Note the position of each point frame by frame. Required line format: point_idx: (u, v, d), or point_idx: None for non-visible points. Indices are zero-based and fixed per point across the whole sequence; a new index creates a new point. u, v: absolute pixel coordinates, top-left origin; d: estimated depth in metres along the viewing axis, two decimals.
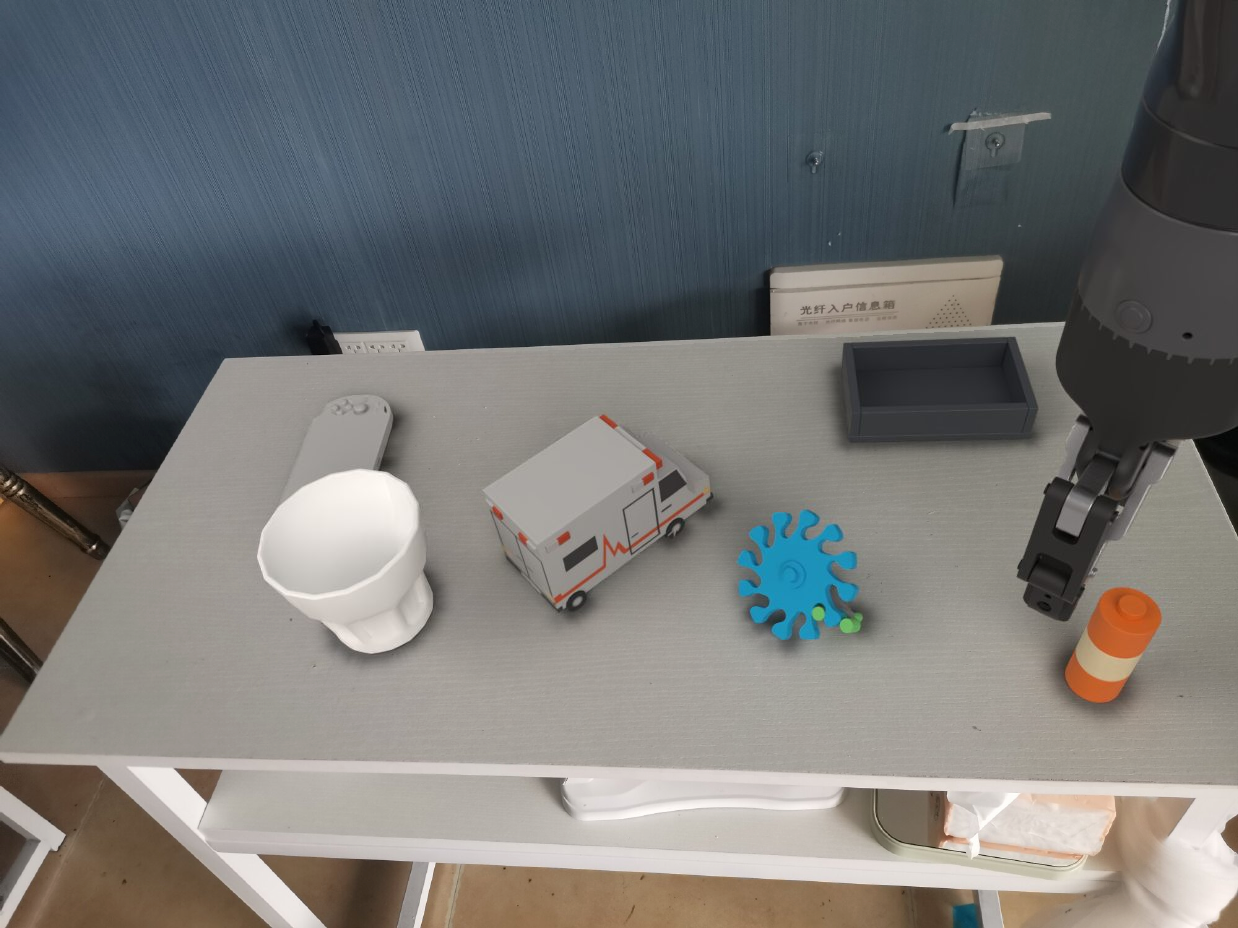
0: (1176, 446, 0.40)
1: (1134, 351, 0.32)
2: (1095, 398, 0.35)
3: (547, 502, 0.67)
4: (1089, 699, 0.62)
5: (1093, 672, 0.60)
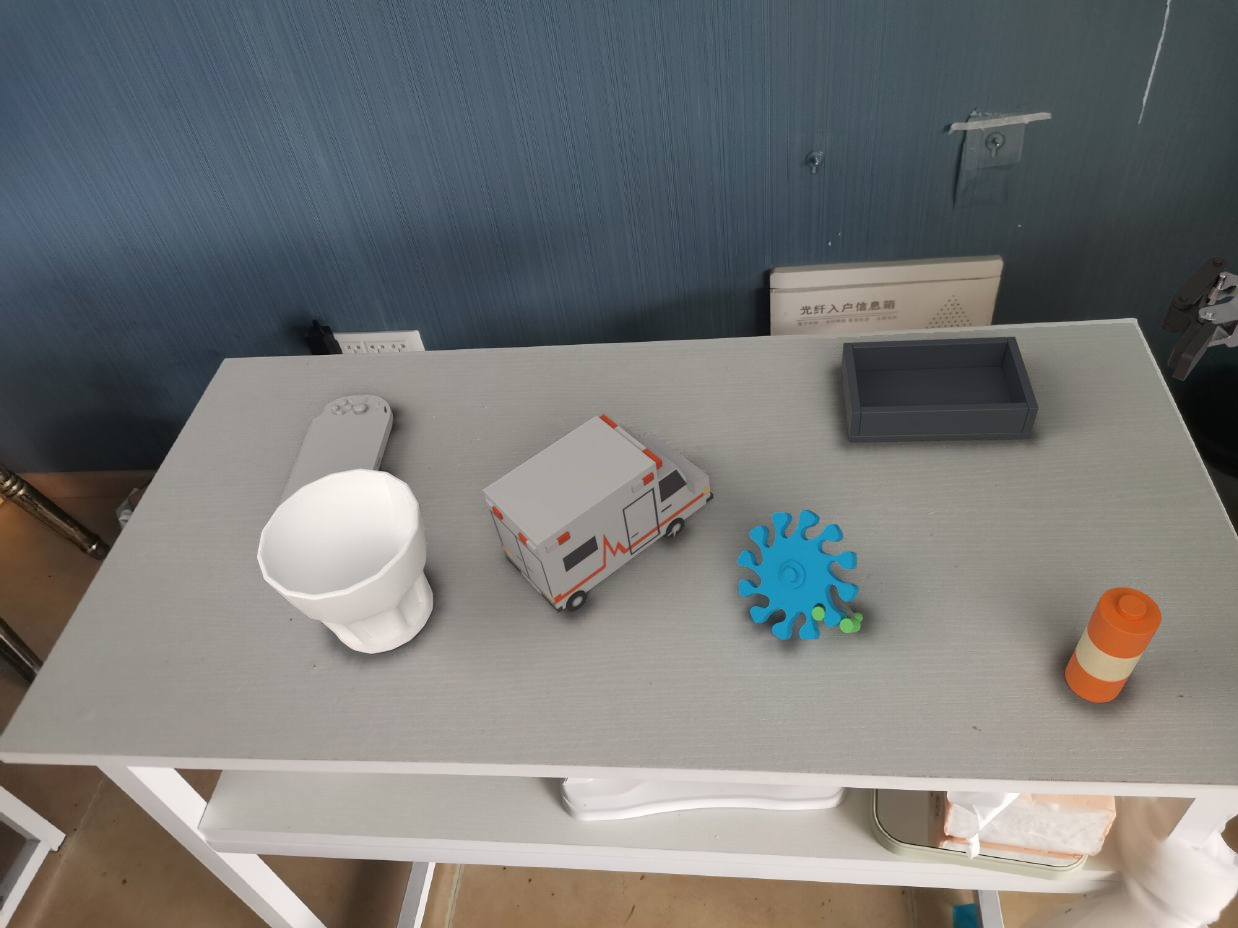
0: None
1: None
2: None
3: (547, 502, 0.67)
4: (1089, 699, 0.62)
5: (1093, 672, 0.60)
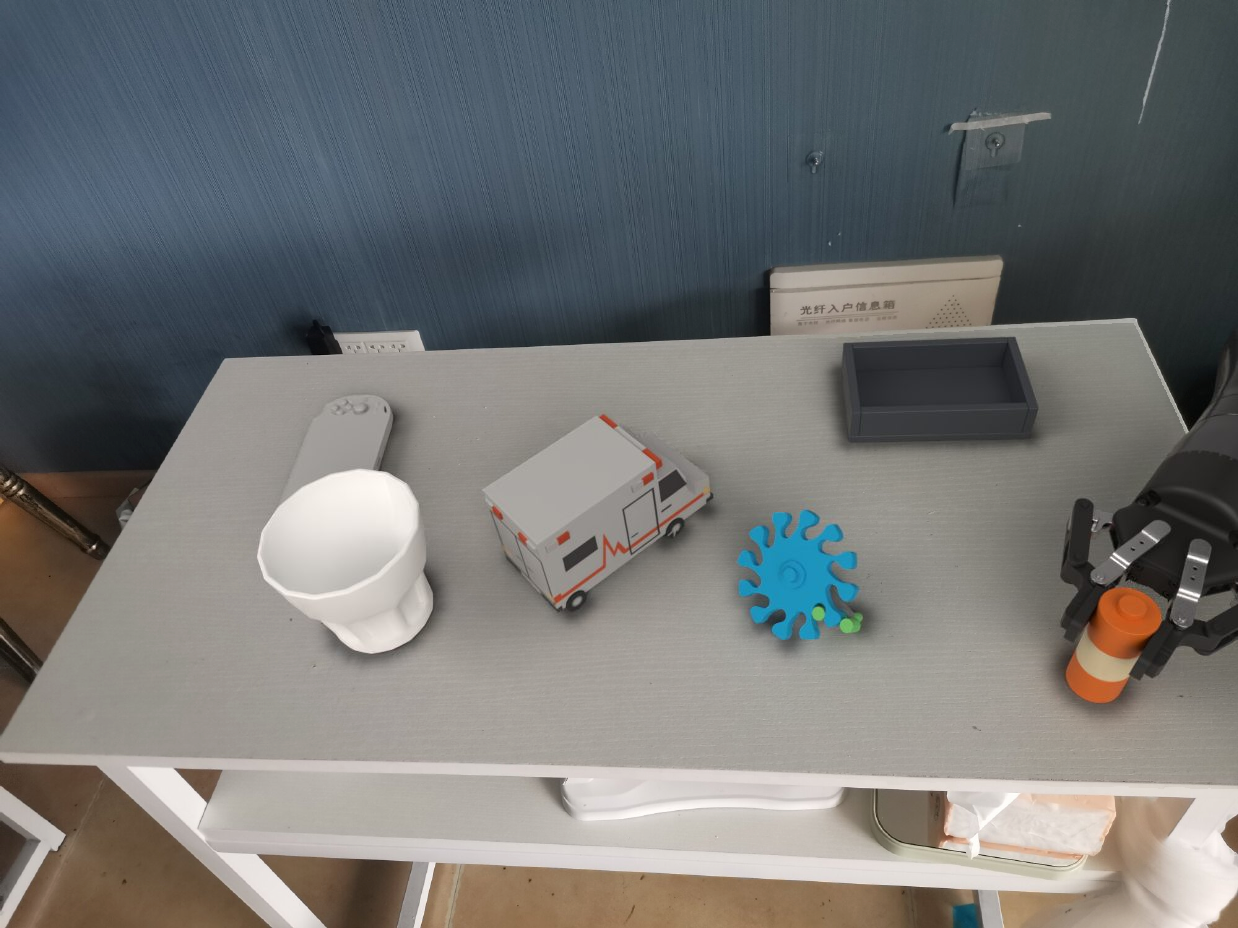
0: (1182, 575, 0.57)
1: None
2: None
3: (547, 502, 0.67)
4: (1090, 699, 0.62)
5: (1093, 672, 0.60)
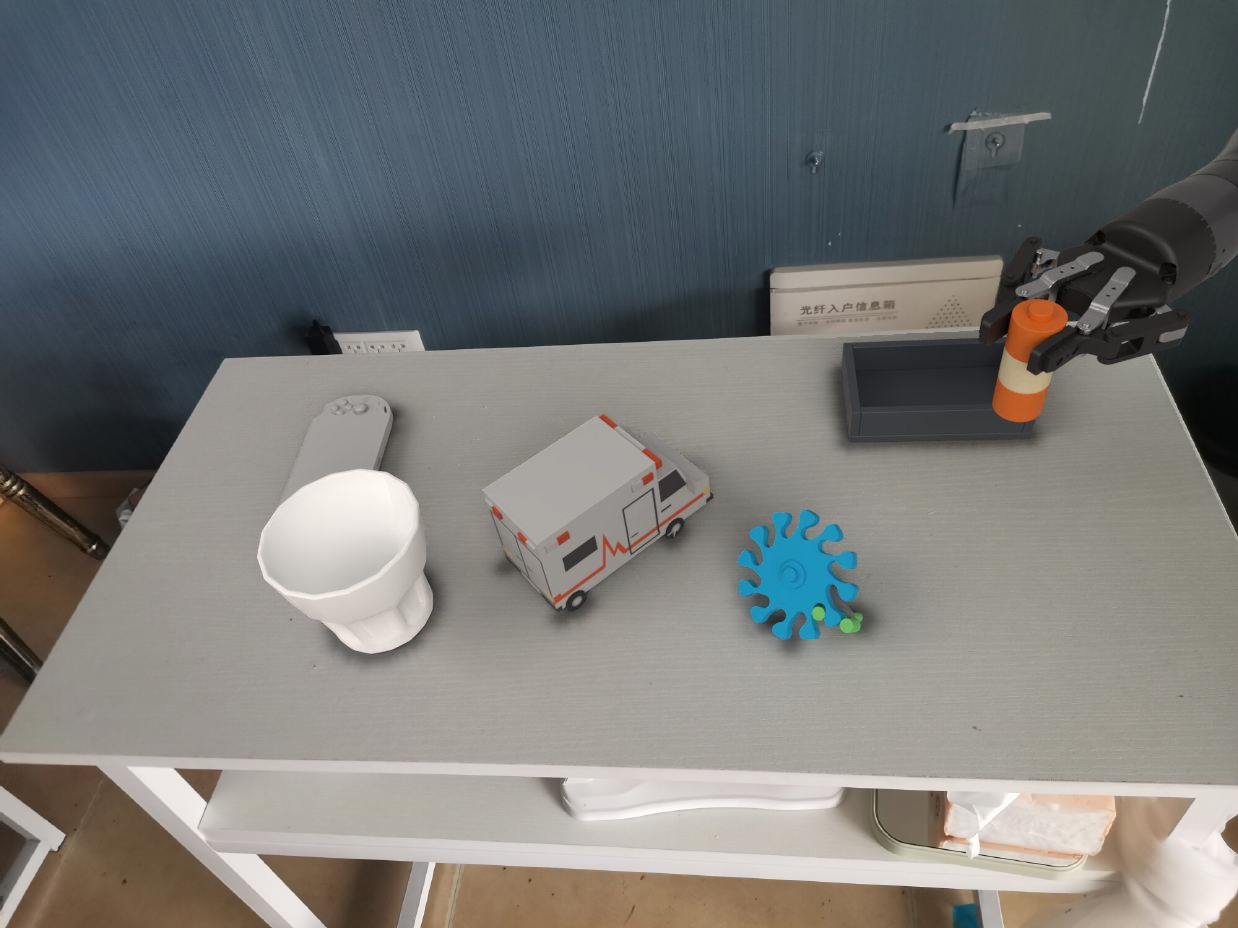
0: (1099, 292, 0.62)
1: None
2: None
3: (547, 502, 0.67)
4: (1007, 418, 0.68)
5: (1008, 384, 0.65)
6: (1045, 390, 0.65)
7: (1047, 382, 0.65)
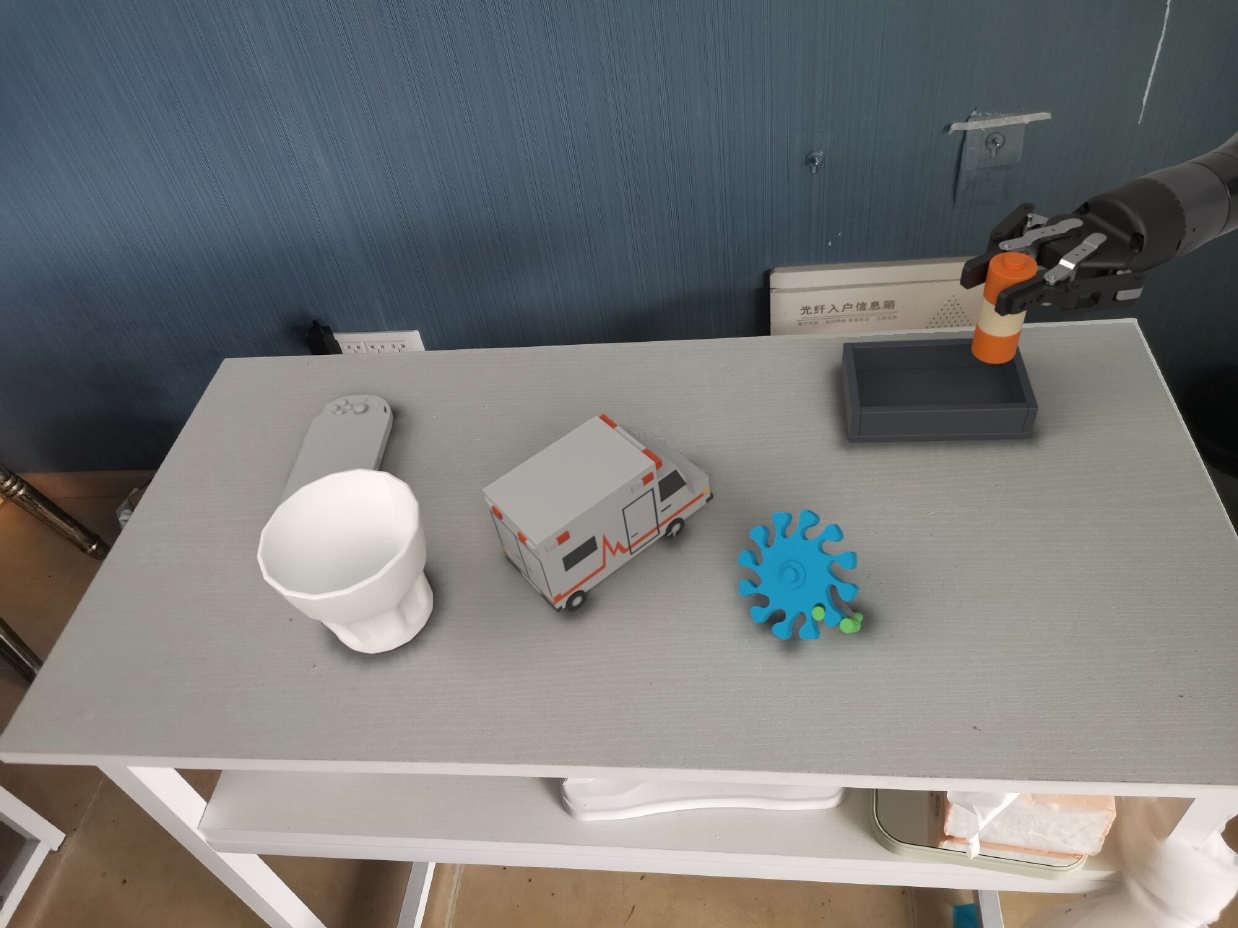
0: (1070, 251, 0.71)
1: None
2: None
3: (547, 502, 0.67)
4: (981, 358, 0.77)
5: (983, 326, 0.75)
6: (1015, 336, 0.74)
7: (1017, 328, 0.74)
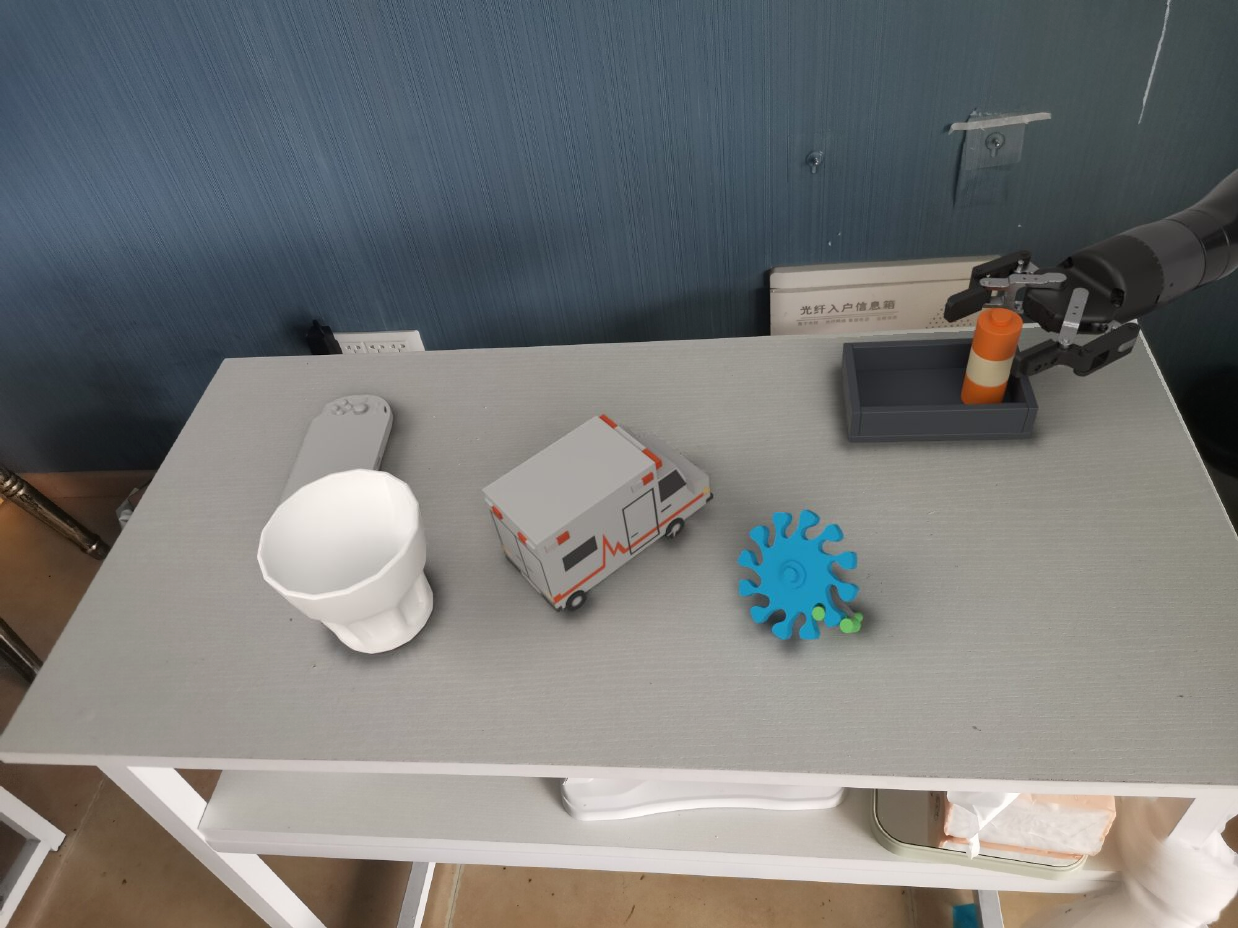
0: (1066, 311, 0.74)
1: None
2: None
3: (547, 502, 0.67)
4: None
5: (971, 376, 0.79)
6: (1002, 386, 0.79)
7: (1004, 379, 0.78)
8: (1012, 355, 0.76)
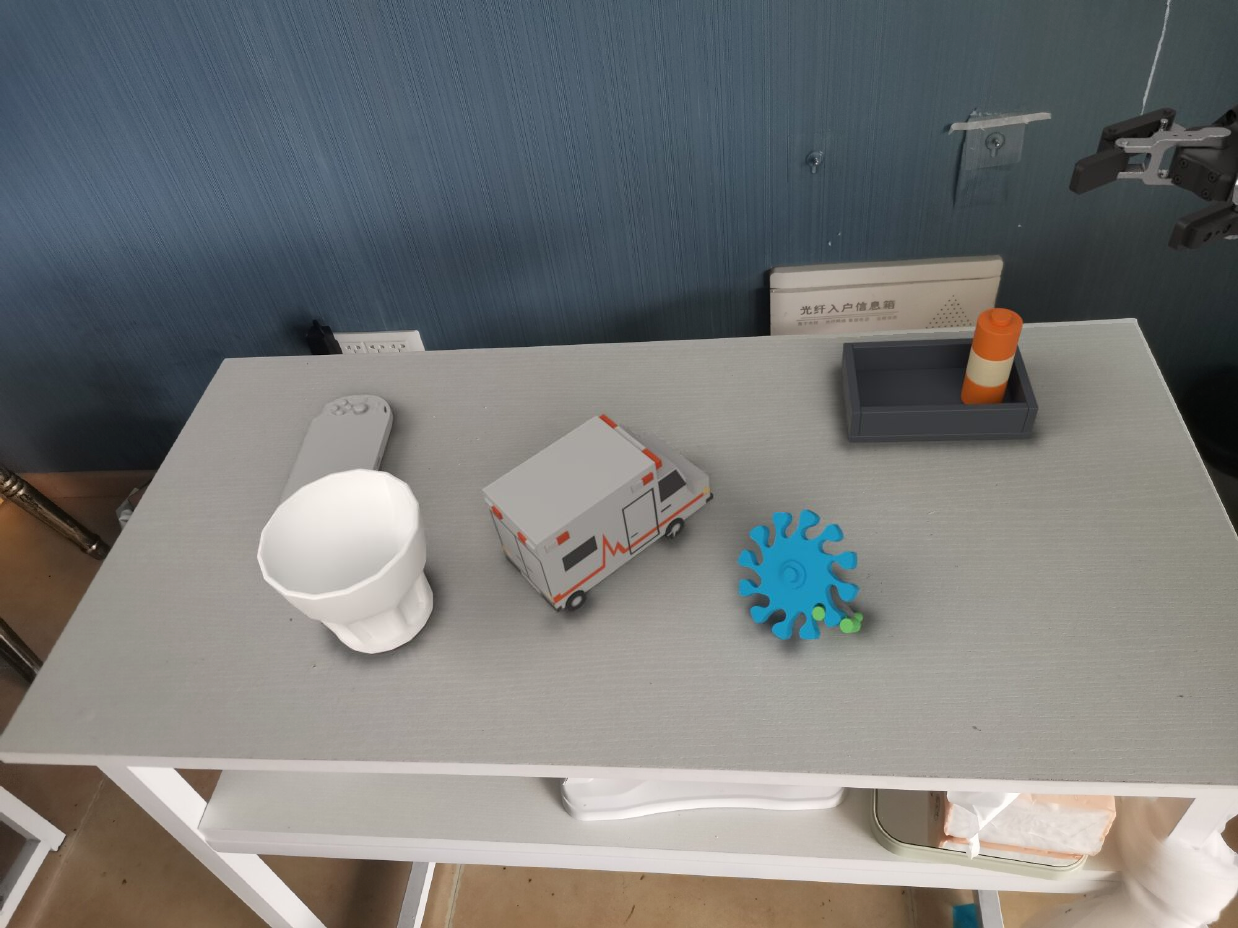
0: None
1: None
2: None
3: (546, 502, 0.67)
4: None
5: (971, 376, 0.79)
6: (1002, 386, 0.79)
7: (1004, 379, 0.78)
8: (1012, 355, 0.76)
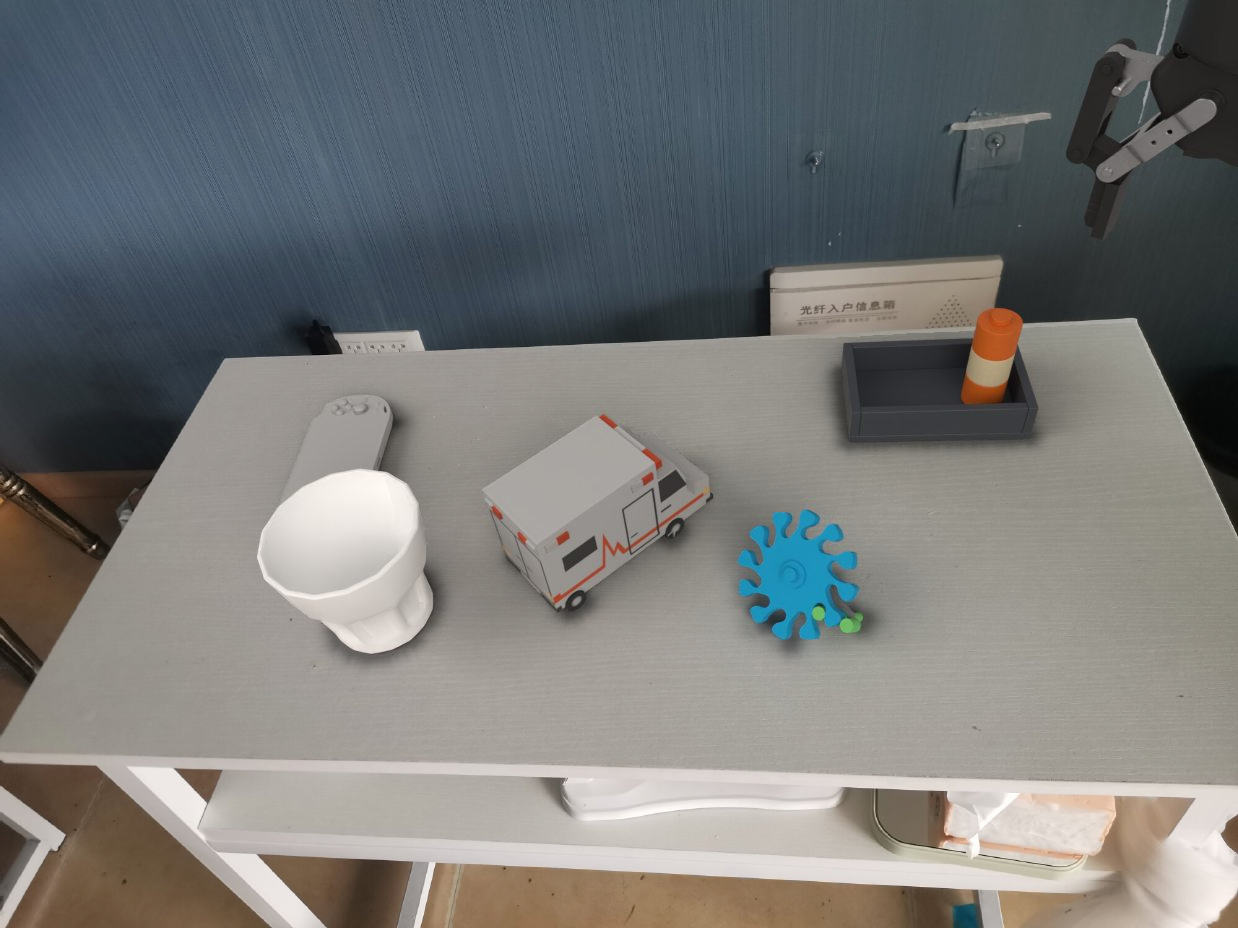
0: None
1: None
2: None
3: (546, 502, 0.67)
4: None
5: (971, 376, 0.79)
6: (1002, 386, 0.79)
7: (1004, 379, 0.78)
8: (1012, 355, 0.76)
